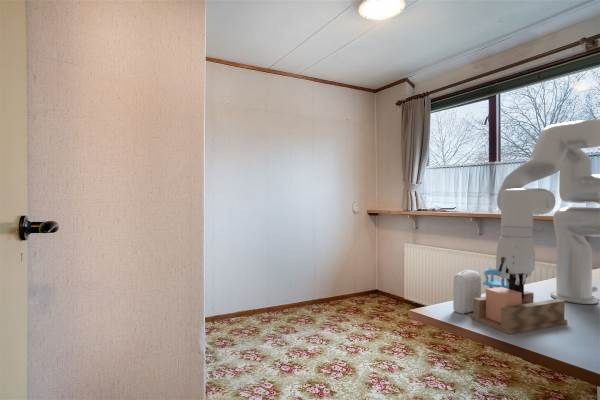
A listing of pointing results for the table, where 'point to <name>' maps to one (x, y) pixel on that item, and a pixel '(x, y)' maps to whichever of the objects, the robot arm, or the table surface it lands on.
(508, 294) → the block
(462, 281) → the photo printer
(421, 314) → the table surface
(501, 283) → the chair
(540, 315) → the chute
